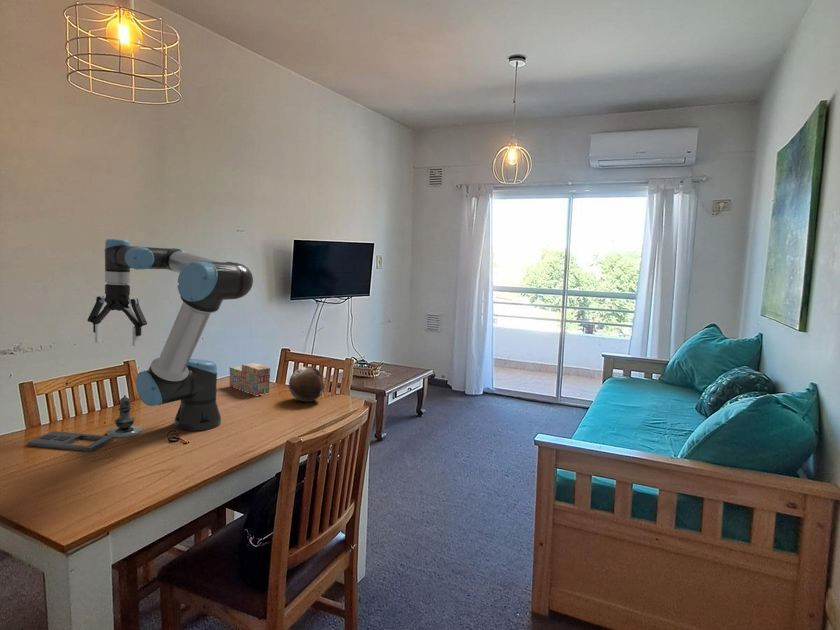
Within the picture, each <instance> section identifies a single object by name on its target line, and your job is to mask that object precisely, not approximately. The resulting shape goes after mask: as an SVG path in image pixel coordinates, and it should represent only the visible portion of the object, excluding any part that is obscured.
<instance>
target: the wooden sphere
mask: <svg viewBox="0 0 840 630" xmlns="http://www.w3.org/2000/svg"><path fill="white" fill-rule="evenodd" d="M325 387H326V380H325V377H324V375H323V373H322V372H321V371H320V370H319V369H317V368H315V367H314V366H301V367H299V368H298V369H296V370H295V371H293V373H292V374H291V375H290V378H289V382H288V388H289V392H290V393H291V395H292V396H293V397H294V399H296V400H297V401H300V400H301V401H300V402H303V401H310V402H312V401H311V400H313V401H315V399H316V400H317V399H319V398H320V397H321V396H322V394H323V393H324V391H325Z"/></svg>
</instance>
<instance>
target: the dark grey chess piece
mask: <svg viewBox="0 0 840 630" xmlns="http://www.w3.org/2000/svg"><path fill="white" fill-rule="evenodd" d="M131 409H132V407H131V399H130V398H129V397H127V396H126V395H125V394H124V396H123V397H122V398H120V399H119V407H118V411H119V416H118V418H115V419H114V423H115V425H116V426H115V427H119V428H118V429H117V430H116V432H117V433H127V432H131V431H133V430H134V429H133V428H132V427H131V426H132V425H133V426H134V422H135V420H136V419H135V418H134V417H131Z"/></svg>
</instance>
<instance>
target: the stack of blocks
mask: <svg viewBox="0 0 840 630" xmlns="http://www.w3.org/2000/svg"><path fill="white" fill-rule="evenodd" d="M270 379H271V367H268V366H266V365H263V364H259V363H255V362H248V363H242V364H241V365H237V366H231V367H229V387H230V388H232V387H233V388H232V389H234V388H236V389H235V390H237V389H240V390H243V391H246V392H249V393H252V394H254V395H260V394H265V393H269V394H270ZM240 390H239V391H240ZM243 391H242V392H243ZM246 392H245V393H246ZM254 395H253V396H254Z"/></svg>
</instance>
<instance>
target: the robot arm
mask: <svg viewBox="0 0 840 630" xmlns="http://www.w3.org/2000/svg"><path fill="white" fill-rule="evenodd" d="M104 269H105V270H104V283H106V284H105V285H104V294H105V296H104V295H103V296H102V295H100V296H99V295H98V296H96V299H95V304H94V305H93V307H92V310H91V312H90V313H89V315H88V318H87V322H89V323H92V324H93V325H92V330H93V334H95V335H94V341H95V342H94V343H96V344H98V343H102V342H103V337H104V336H103V331H104V330H103V326H104V325H103V323H102V321H103V320H104V319H105V318H106V317H107V316H108V314H109V313H111V311H119V312H120V311H121V312H123V313H124V314H125V315H126V317H128V319H129V321H130V322H131V323H132V324H133V327H132V344H131V345H132V347H135V346H139V345H140V336H142V327H144V326H146V325H148V321H147V320H146V318H145V315H144V313H143V311H142V309H141V307H140V304H139V303H140V302H139V299H138V298H130V295H131V286H130V284H129V283H130V281H131V274H130V273H131V269H134V270H168V271H172V272H175V273H179V274H178V277H177V283H178V284H177V287H176V288H177V291H178V293H179V296H180V297H179V298H180V301H182V304H181V307H180V309H179V311H178V314H177V316H176V318H175V320H174V323H173V325H172V327H171V330H170V332H169V334H168V337H167V339H166V342H165V344H164V346H163V349H162V350H161V353H160V355H159V357H157V358H155V359H154V358H153V359H154V360H152V361H151V363H150V366H149V368H148V369H147V370H141V371H140V372H138V373H137V375H136V377H135V388H136V392H137V393H136V394H137V395H138V397H139V399H140V401H141V402H142V403H143V404H145V406H149V407H153V406H162V405H164V404H169V403H174V402H178V401H180V403H179V407H178V409H177V412H176V415H175V418H174V428H176V429H178V430H183V431H191V432H193V431H196V432H197V431H205V430H210V429H214V428H216V427H218V426H220V425H221V423H222V416H221V413H220V410H219V406H218V404H217V382H218V381H217V380H218V367H217V363H216V362H214V361H211V360H208V359H200V358H192V356H193V354H194V352H195V349H196V347H197V345H198V344H199V343H198V342H200V341H199V340H200V338H201V336H202V334H203V331H204V329H205V328H206V326H207V323H208V320H209V318H210V316H211V314H212V313H216V312H218V310H220V307H221V305H222V304H223V301H224V300H225V301H226V300H238V299H241V298H243V297H245V296H246V295H248V294H249V292H250V291H251V290H252V288H253V285H254V278H253V274H252V271H251V270H250V269H249V268H248V267H247V266H245V265H244V264H242V263H238V262H232V261H226V262H225V261H224V262H223V261H221V262H220V261H218V260H217V261H216V260H214V259H209V258H207V257H204V256H199V255H195V254H191V253H188V252H186V251H185V249H181V248H177V247H176V248H169V247H168V248H167V247H166V248H165V247H163V248H162V247H153V246H152V247H151V246H149V247H148V246H140V245H139V246H138V245H137V246H133V245H131V243H130V240H128V239H116V238H114V239H113V238H107V239H106V240H105V245H104ZM104 303H105V305H104ZM130 305H131V306H130ZM102 307H103V308H102Z"/></svg>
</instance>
